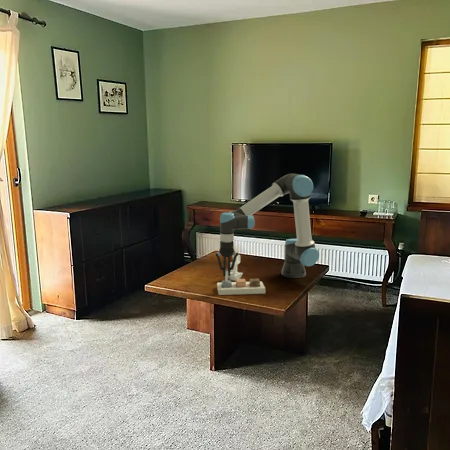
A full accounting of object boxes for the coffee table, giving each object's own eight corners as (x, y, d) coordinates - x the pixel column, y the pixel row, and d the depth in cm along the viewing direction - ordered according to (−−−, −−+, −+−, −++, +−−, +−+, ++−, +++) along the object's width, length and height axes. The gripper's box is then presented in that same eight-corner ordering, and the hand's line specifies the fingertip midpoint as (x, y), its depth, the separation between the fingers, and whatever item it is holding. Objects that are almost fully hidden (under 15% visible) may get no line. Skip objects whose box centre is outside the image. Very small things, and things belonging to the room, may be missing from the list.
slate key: (230, 287, 253) (230, 280, 253) (231, 290, 248) (231, 283, 248) (221, 287, 253) (221, 280, 252) (222, 290, 248) (222, 283, 247)
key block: (261, 286, 259) (261, 281, 258) (265, 293, 247) (265, 288, 246) (217, 287, 256) (217, 282, 256) (218, 294, 245) (218, 289, 244)
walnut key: (258, 285, 255) (258, 278, 254) (259, 288, 250) (259, 281, 249) (249, 285, 254) (249, 278, 253) (251, 288, 249) (251, 281, 249)
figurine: (225, 280, 269) (225, 256, 266) (234, 276, 277) (234, 253, 274) (235, 282, 265) (235, 258, 262) (244, 278, 273) (244, 254, 270)
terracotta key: (244, 285, 254) (244, 278, 253) (245, 288, 249) (245, 281, 248) (235, 285, 253) (235, 279, 253) (236, 288, 249) (236, 281, 248)
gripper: (237, 239, 249) (237, 279, 254) (214, 239, 248) (214, 279, 253) (239, 242, 242) (238, 283, 247) (215, 242, 241) (215, 284, 246)
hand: (226, 281), depth 250 cm, fingers closed
